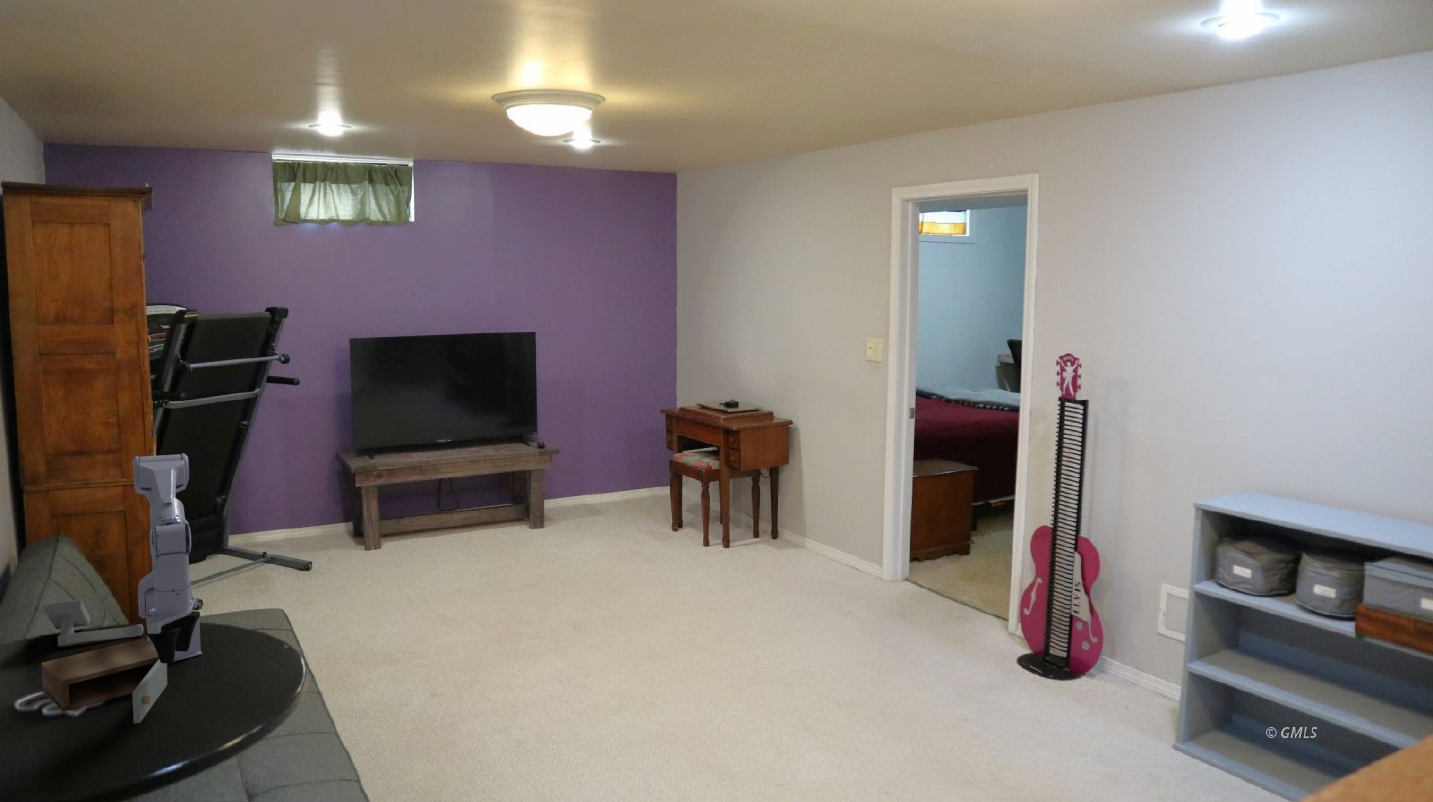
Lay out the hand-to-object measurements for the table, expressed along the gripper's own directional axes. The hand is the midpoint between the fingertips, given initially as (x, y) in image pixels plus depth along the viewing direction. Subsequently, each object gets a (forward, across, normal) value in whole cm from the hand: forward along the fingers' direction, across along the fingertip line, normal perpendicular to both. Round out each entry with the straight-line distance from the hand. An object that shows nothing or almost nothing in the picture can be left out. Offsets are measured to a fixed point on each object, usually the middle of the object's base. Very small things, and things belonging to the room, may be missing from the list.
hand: (174, 656), depth 181 cm
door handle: (+10, -34, -35) cm, 50 cm away
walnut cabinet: (+9, -7, -17) cm, 20 cm away
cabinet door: (+9, 0, -4) cm, 10 cm away
